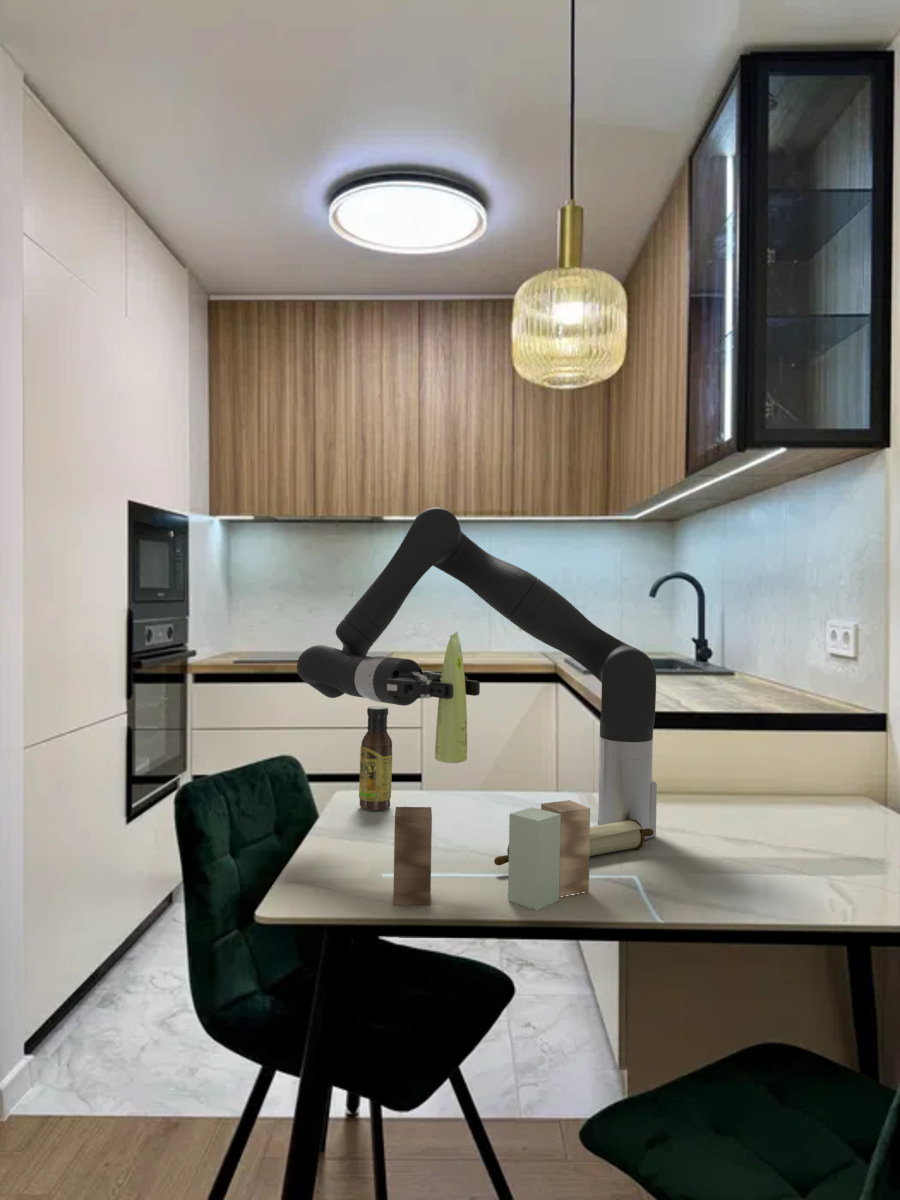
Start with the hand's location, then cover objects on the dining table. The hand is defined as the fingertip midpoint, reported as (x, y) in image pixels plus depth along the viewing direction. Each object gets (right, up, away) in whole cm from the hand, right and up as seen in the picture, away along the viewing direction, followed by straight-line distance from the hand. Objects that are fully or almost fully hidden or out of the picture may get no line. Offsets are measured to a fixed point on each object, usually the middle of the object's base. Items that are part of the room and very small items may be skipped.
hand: (464, 690), depth 123 cm
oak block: (+14, -28, -6) cm, 32 cm away
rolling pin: (+18, -28, +8) cm, 35 cm away
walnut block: (-7, -28, -10) cm, 30 cm away
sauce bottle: (-17, -27, +37) cm, 49 cm away
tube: (-2, -11, +2) cm, 11 cm away
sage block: (+9, -28, -10) cm, 31 cm away
